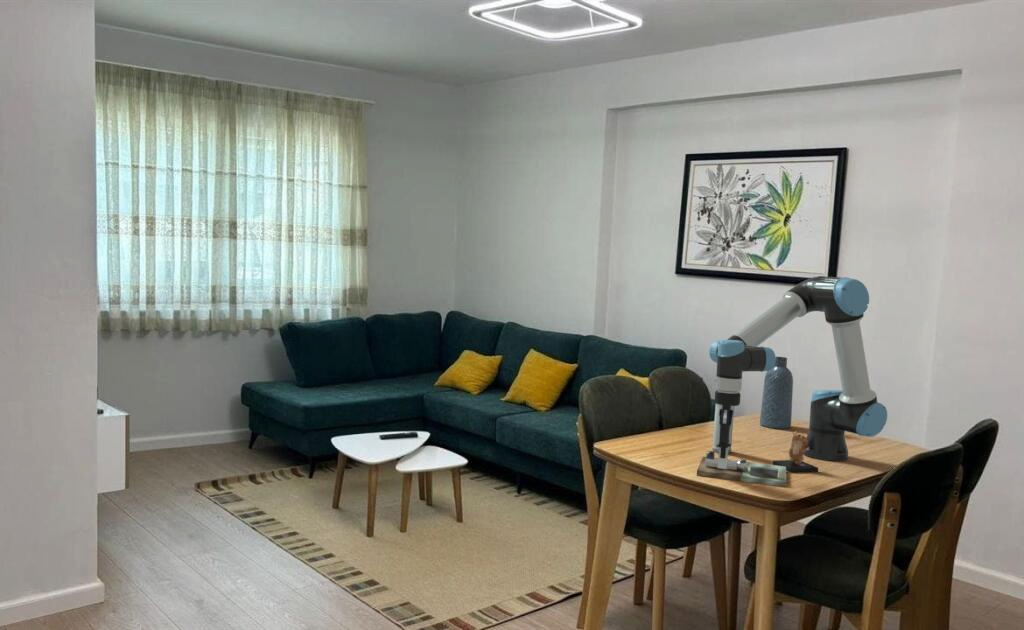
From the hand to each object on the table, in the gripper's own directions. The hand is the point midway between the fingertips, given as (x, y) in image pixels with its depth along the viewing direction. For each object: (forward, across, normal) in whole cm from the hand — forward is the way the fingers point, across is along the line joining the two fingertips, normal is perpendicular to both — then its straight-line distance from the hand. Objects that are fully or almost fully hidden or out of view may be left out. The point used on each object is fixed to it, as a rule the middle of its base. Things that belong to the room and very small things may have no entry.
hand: (722, 467), depth 257 cm
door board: (+3, -9, +6) cm, 11 cm away
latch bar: (+1, -6, +1) cm, 6 cm away
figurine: (+3, -25, +22) cm, 33 cm away
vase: (+3, -96, +15) cm, 97 cm away
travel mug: (+3, -37, -2) cm, 37 cm away
